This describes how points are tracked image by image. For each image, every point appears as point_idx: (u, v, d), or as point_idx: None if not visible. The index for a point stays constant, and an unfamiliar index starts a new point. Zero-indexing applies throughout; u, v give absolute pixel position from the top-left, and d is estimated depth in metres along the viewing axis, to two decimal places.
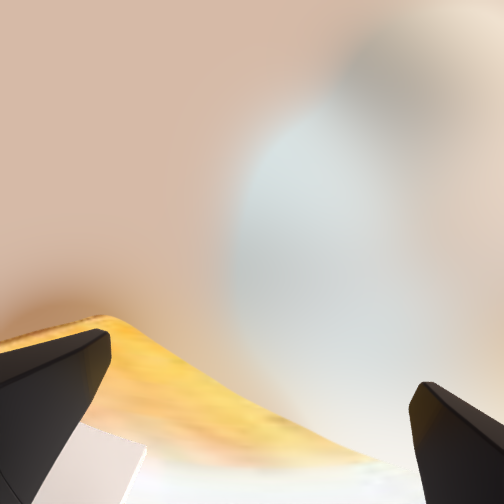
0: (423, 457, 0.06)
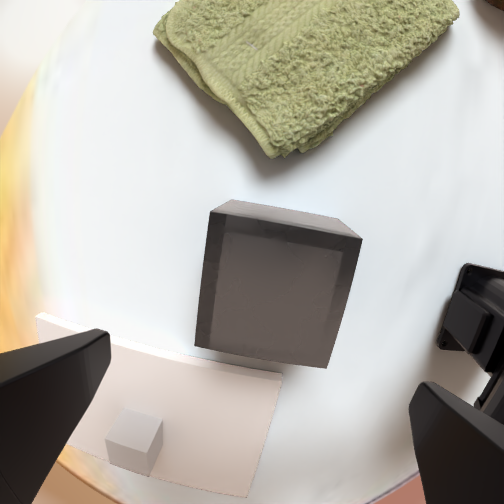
0: (423, 457, 0.06)
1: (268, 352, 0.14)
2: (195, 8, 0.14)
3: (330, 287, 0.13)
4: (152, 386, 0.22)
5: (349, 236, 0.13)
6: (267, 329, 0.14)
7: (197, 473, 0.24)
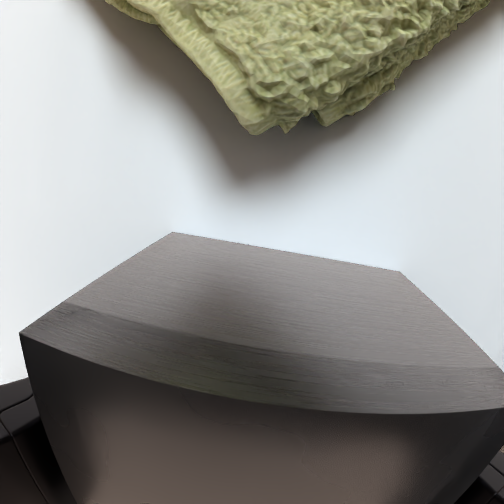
0: None
1: None
2: None
3: None
4: None
5: (503, 404, 0.03)
6: None
7: None
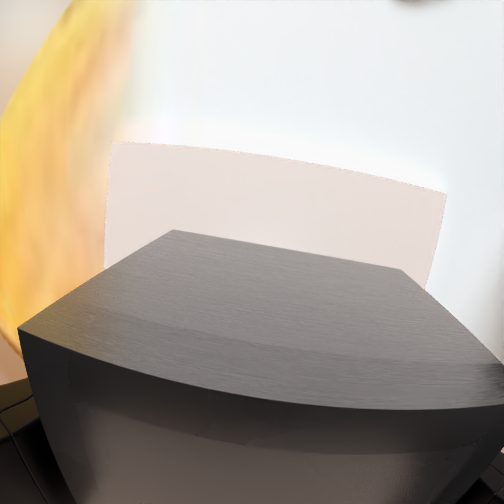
0: None
1: None
2: None
3: None
4: (289, 214, 0.17)
5: None
6: None
7: None
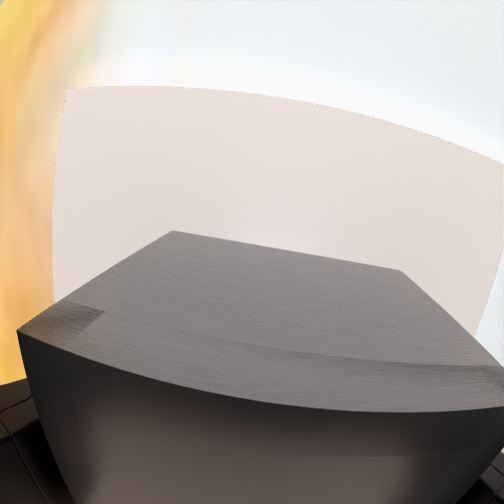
0: None
1: None
2: None
3: None
4: (317, 185, 0.11)
5: None
6: None
7: None
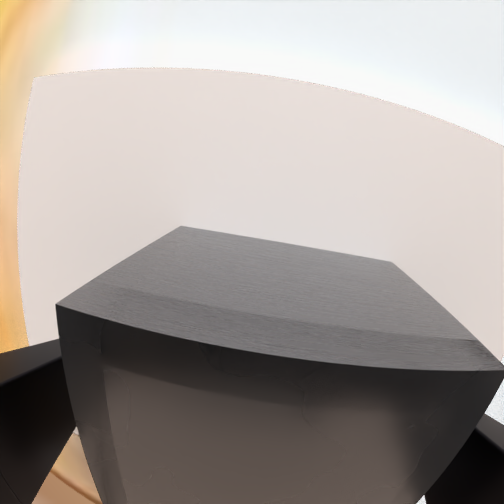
0: None
1: None
2: None
3: (403, 477, 0.04)
4: (330, 188, 0.09)
5: (481, 368, 0.03)
6: None
7: None
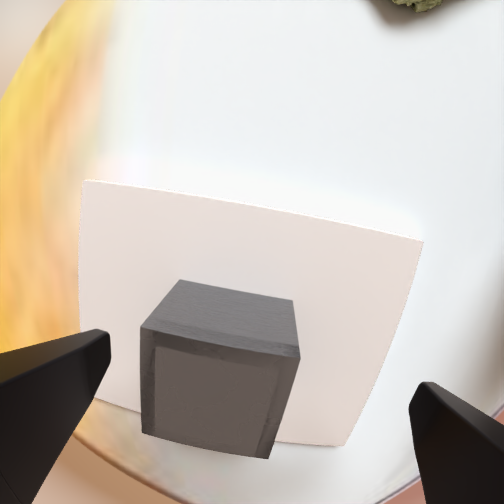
0: (423, 457, 0.06)
1: (210, 444, 0.13)
2: None
3: (266, 399, 0.12)
4: (256, 262, 0.17)
5: (286, 355, 0.12)
6: (207, 428, 0.13)
7: (289, 414, 0.20)
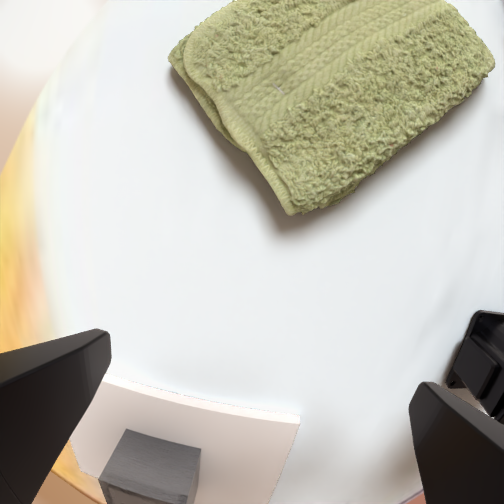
0: (423, 457, 0.06)
1: None
2: (218, 37, 0.14)
3: None
4: (173, 428, 0.21)
5: (177, 503, 0.16)
6: None
7: (214, 499, 0.24)
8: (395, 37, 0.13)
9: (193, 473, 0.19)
